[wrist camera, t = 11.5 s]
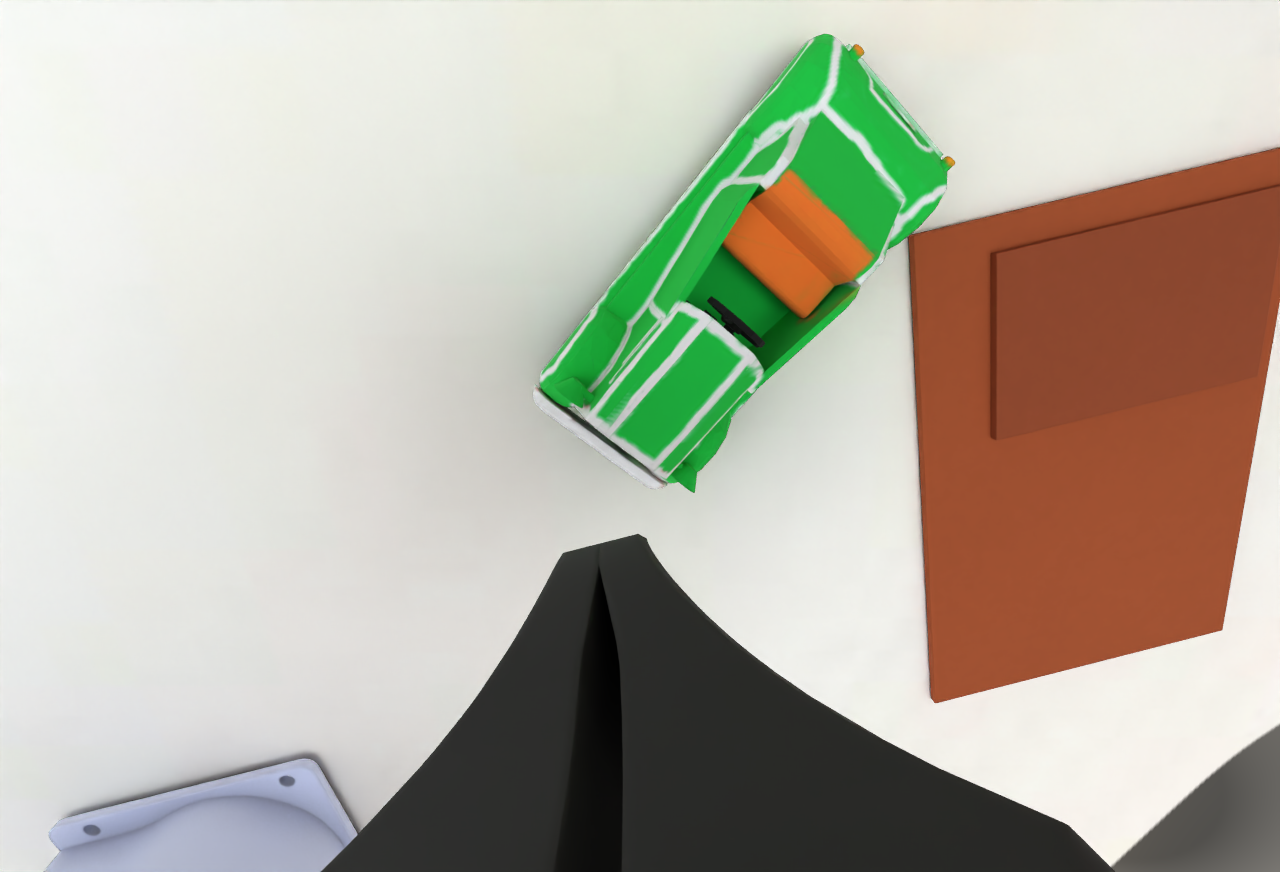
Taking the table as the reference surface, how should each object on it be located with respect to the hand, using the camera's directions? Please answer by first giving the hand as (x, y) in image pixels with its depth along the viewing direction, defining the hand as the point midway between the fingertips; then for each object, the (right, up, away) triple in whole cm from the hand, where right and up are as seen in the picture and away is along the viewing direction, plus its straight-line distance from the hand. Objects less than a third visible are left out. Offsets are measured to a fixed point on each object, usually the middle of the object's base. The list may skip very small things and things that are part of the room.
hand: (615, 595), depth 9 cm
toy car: (+3, +7, +8) cm, 11 cm away
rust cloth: (+16, +2, +11) cm, 20 cm away
